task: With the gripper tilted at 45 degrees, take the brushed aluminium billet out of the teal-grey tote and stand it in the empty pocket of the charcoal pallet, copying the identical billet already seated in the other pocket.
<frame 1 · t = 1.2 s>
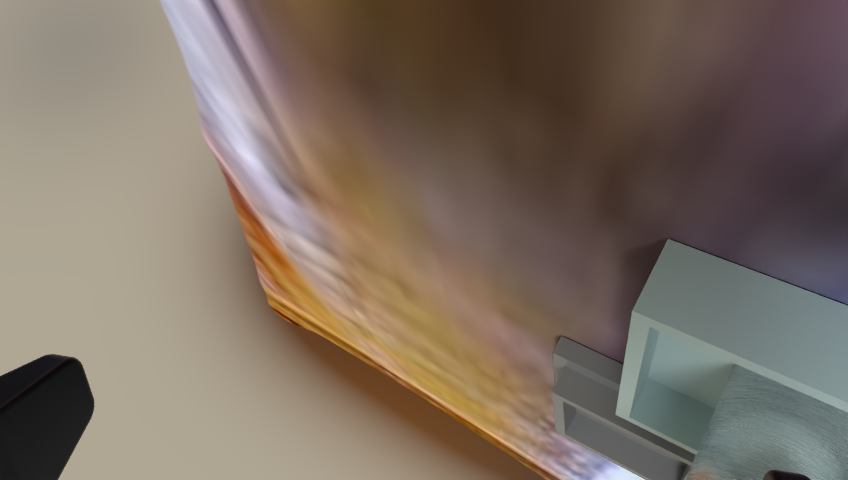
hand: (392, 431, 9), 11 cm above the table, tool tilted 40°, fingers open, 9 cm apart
aluminium billet: (798, 395, 24), point 1 cm above the table, touching tote
tote: (805, 375, 24), on the table
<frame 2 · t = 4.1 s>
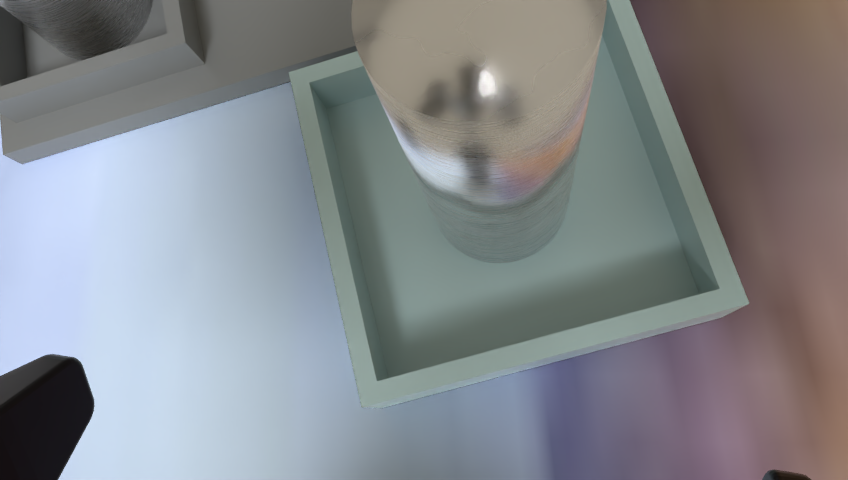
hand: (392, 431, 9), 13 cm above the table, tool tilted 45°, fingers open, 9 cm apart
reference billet: (98, 8, 27), point 1 cm above the table, touching pallet
aluminium billet: (499, 197, 22), point 1 cm above the table, touching tote
tote: (500, 204, 23), on the table
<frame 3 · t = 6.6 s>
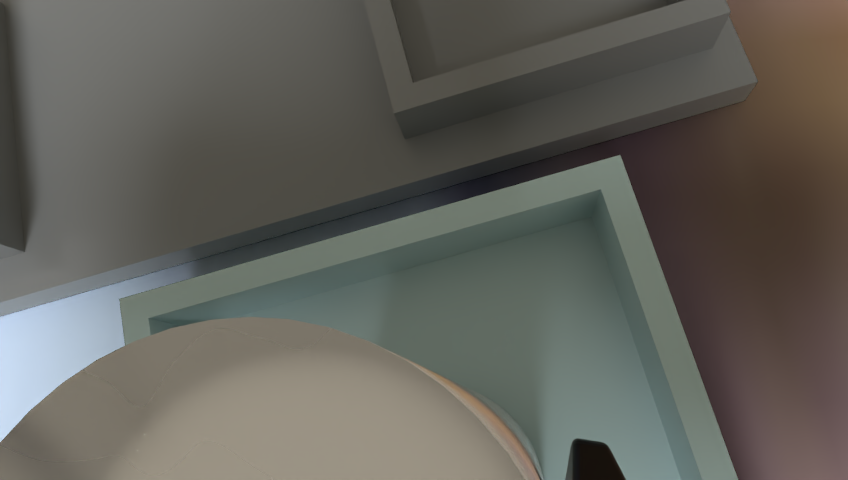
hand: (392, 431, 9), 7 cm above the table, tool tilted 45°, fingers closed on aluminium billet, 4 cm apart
pallet: (205, 84, 19), on the table
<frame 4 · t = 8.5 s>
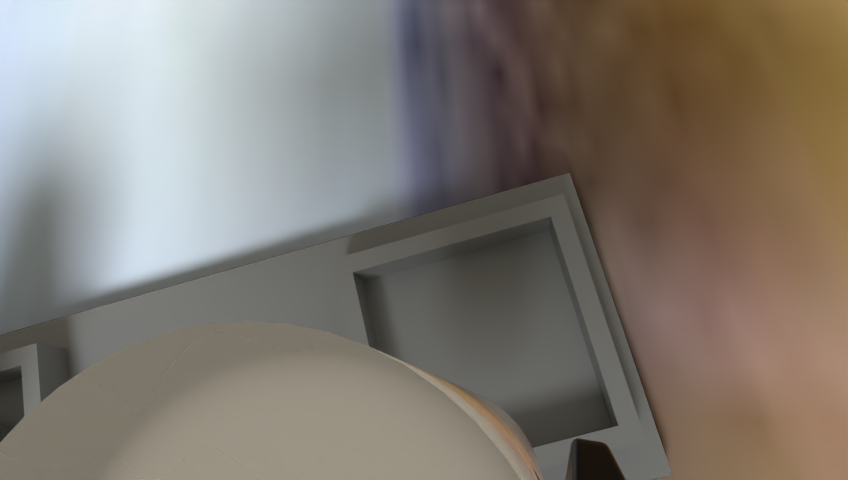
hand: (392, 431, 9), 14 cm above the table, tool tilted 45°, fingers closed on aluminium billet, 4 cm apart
pallet: (231, 420, 23), on the table
when the fingers open (9 cm above the table, at t = 10.6 s): aluminium billet drops 1 cm, resting on pallet.
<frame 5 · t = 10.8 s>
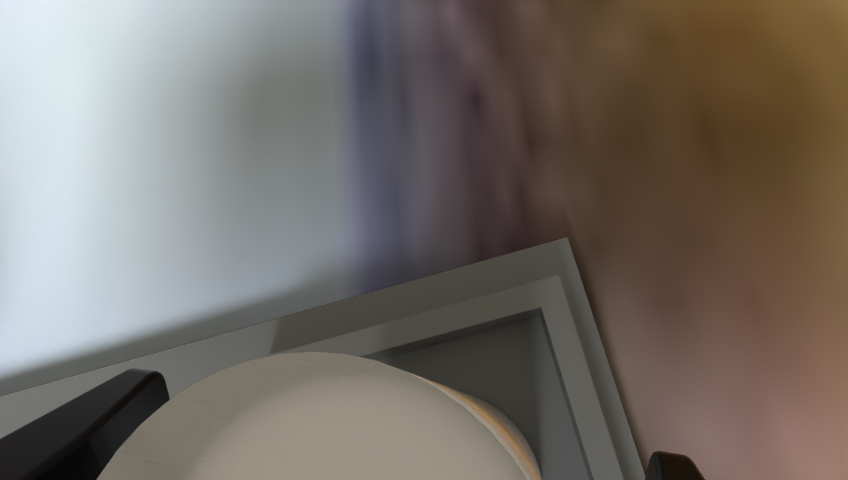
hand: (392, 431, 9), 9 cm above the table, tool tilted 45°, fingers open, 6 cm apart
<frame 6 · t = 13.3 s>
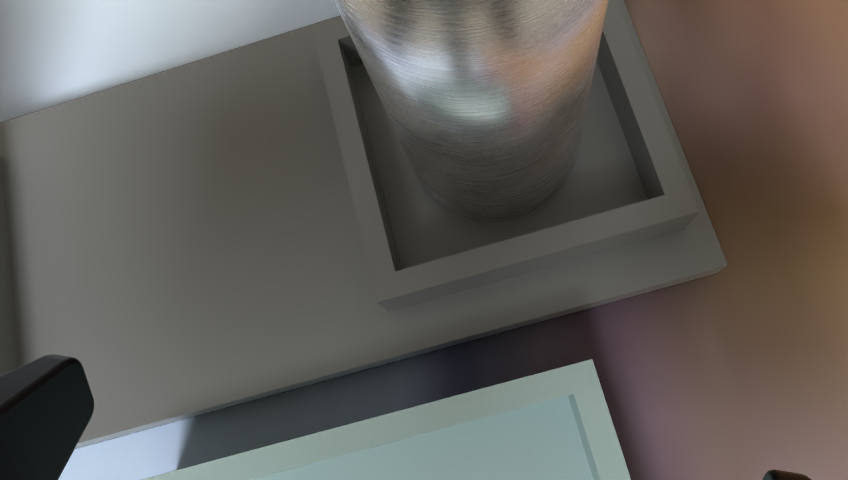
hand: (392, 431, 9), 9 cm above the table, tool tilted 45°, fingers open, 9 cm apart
aluminium billet: (492, 140, 18), point 1 cm above the table, touching pallet
pallet: (197, 237, 20), on the table
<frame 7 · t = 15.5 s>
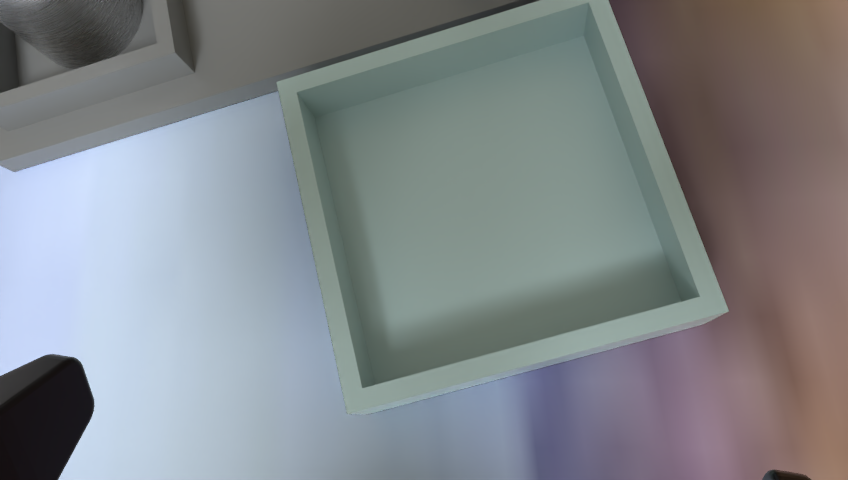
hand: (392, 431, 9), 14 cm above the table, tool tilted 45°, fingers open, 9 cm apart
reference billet: (89, 18, 27), point 1 cm above the table, touching pallet
tote: (486, 212, 23), on the table
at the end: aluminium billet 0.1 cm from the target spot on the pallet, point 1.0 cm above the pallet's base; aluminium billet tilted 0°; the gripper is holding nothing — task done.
